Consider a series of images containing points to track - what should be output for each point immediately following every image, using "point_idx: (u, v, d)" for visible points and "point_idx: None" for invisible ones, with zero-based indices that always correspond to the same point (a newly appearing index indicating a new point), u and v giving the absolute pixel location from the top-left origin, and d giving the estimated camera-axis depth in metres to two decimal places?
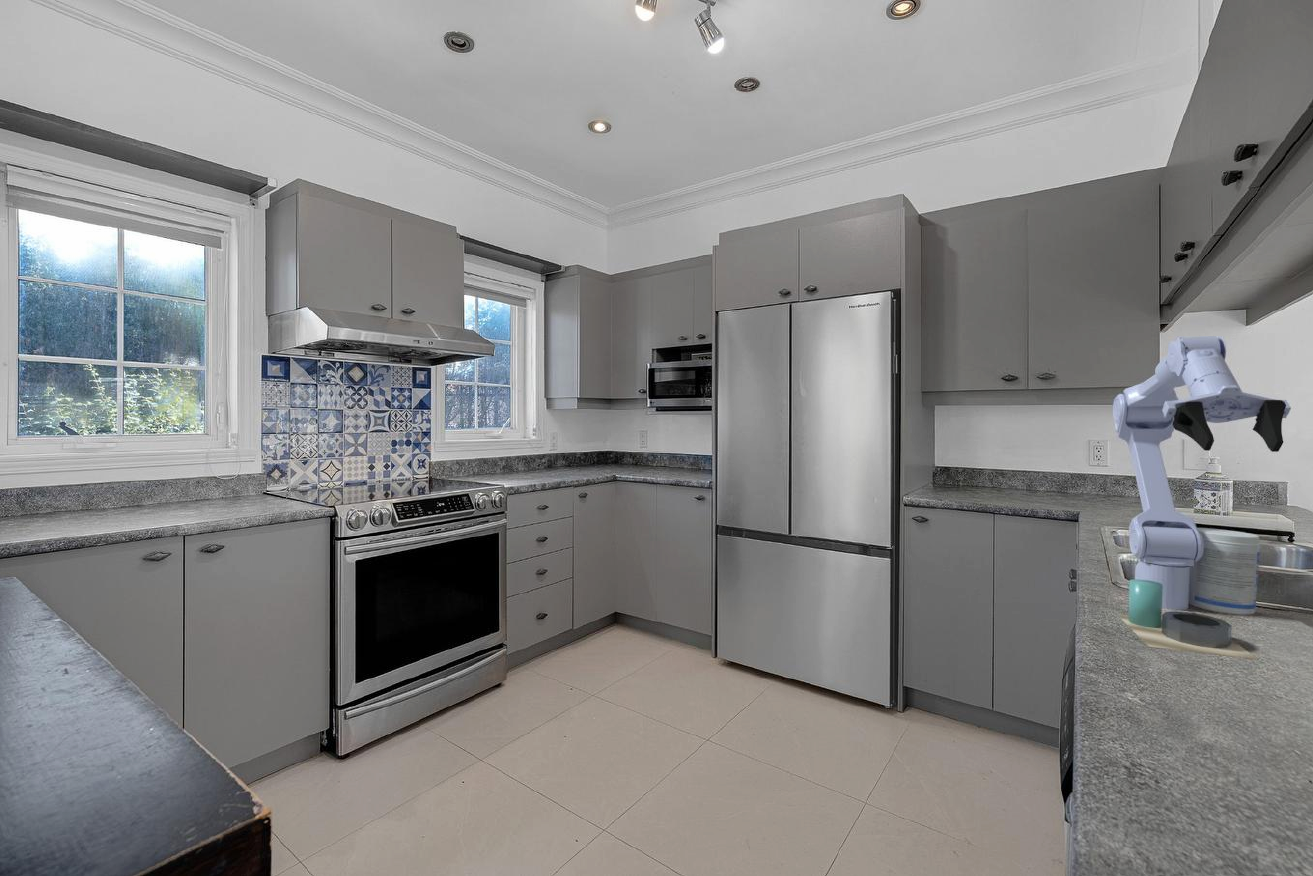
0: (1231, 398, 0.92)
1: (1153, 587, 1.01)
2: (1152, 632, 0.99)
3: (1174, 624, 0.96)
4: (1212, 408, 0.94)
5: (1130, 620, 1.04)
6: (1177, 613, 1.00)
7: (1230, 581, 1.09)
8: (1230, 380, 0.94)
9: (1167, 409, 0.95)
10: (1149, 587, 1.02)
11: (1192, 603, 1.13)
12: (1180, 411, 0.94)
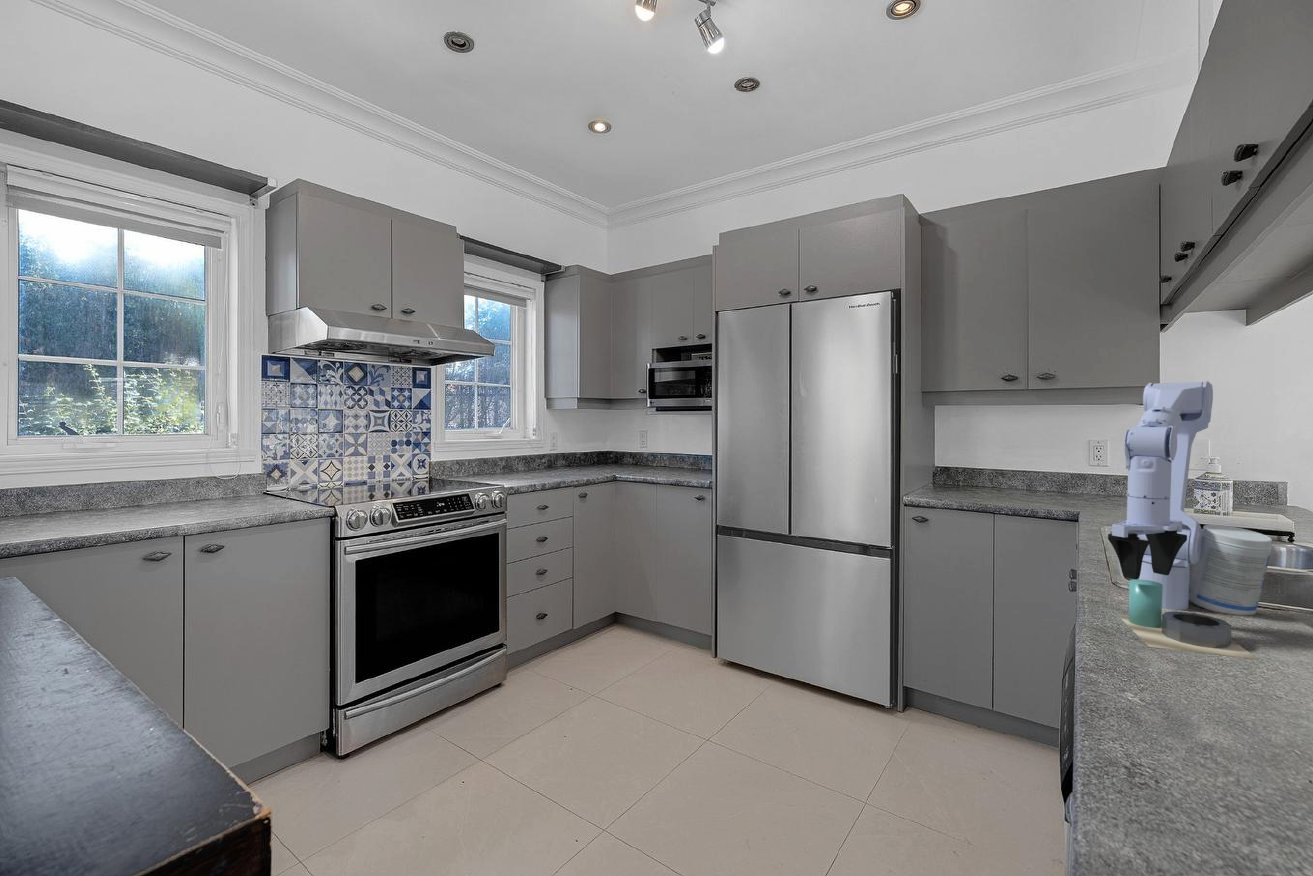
0: None
1: (1153, 587, 1.02)
2: (1152, 632, 0.99)
3: (1174, 624, 0.96)
4: None
5: (1130, 620, 1.04)
6: (1177, 613, 1.00)
7: (1235, 584, 1.08)
8: (1169, 507, 1.01)
9: (1121, 535, 1.00)
10: (1149, 587, 1.02)
11: (1193, 600, 1.13)
12: (1130, 542, 1.00)
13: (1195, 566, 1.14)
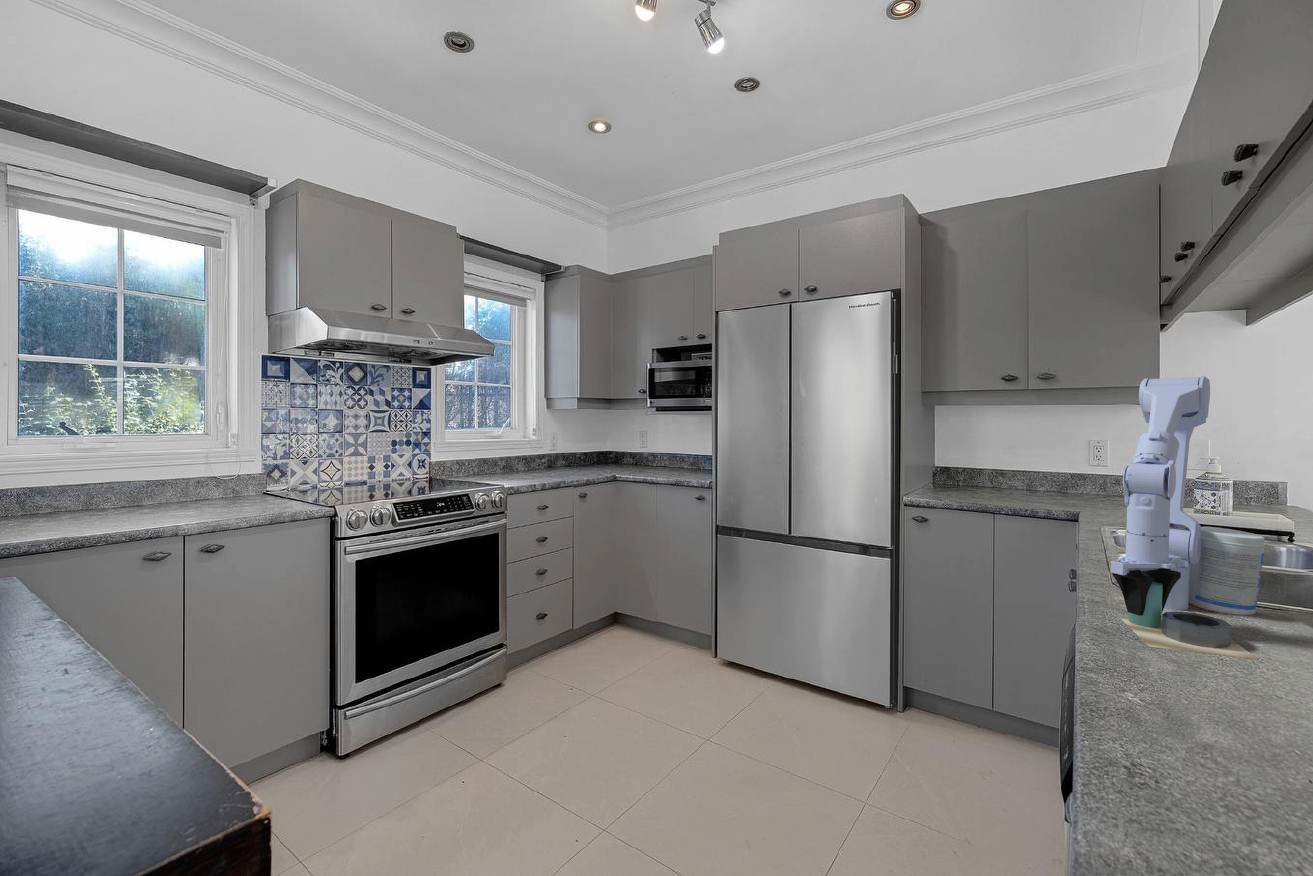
0: None
1: (1153, 587, 1.01)
2: (1152, 632, 0.99)
3: (1174, 624, 0.96)
4: None
5: (1130, 620, 1.04)
6: (1177, 613, 1.00)
7: (1232, 582, 1.08)
8: (1168, 545, 1.01)
9: (1120, 573, 1.01)
10: None
11: (1193, 602, 1.13)
12: (1134, 579, 1.01)
13: (1191, 567, 1.14)
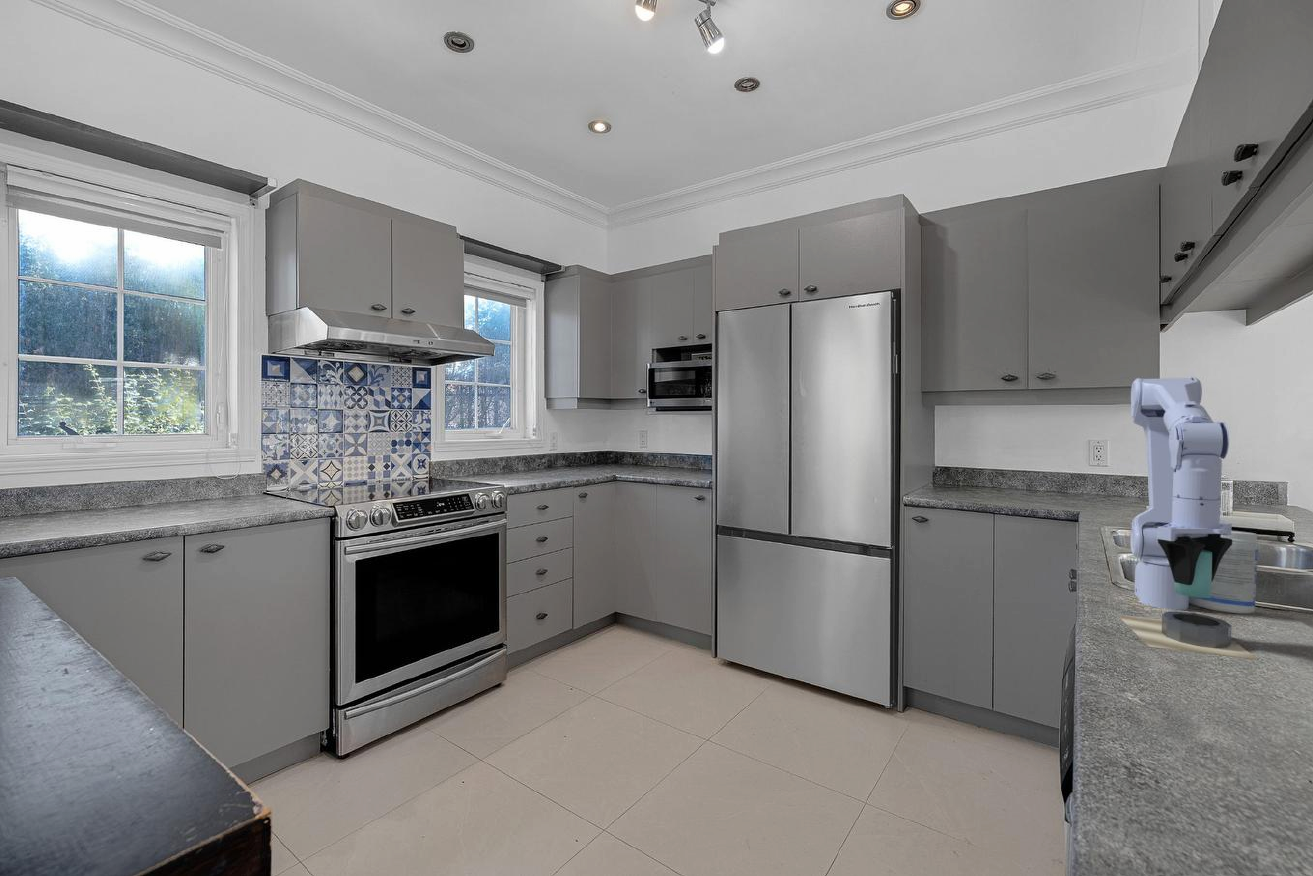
0: None
1: (1202, 554, 0.95)
2: (1152, 632, 0.99)
3: (1174, 624, 0.96)
4: None
5: (1177, 591, 0.97)
6: (1177, 613, 1.00)
7: (1229, 578, 1.09)
8: (1219, 509, 0.94)
9: (1168, 539, 0.94)
10: None
11: (1192, 601, 1.14)
12: (1183, 545, 0.94)
13: None
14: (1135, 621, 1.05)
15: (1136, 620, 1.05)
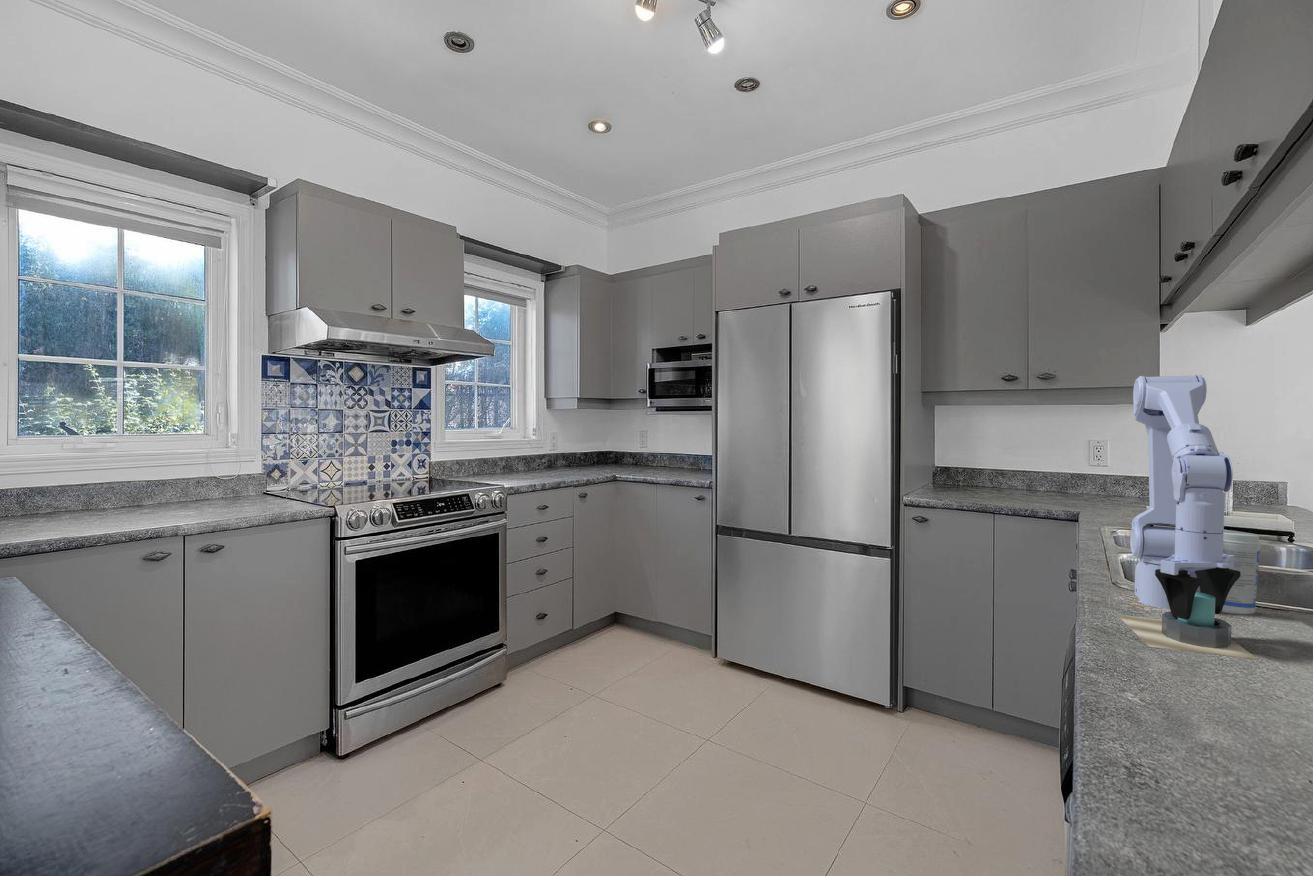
0: None
1: (1206, 600, 0.94)
2: (1152, 632, 0.99)
3: (1174, 624, 0.96)
4: None
5: None
6: None
7: None
8: (1222, 542, 0.94)
9: (1171, 573, 0.94)
10: (1201, 600, 0.95)
11: None
12: (1180, 580, 0.93)
13: None
14: (1135, 621, 1.05)
15: (1136, 620, 1.05)
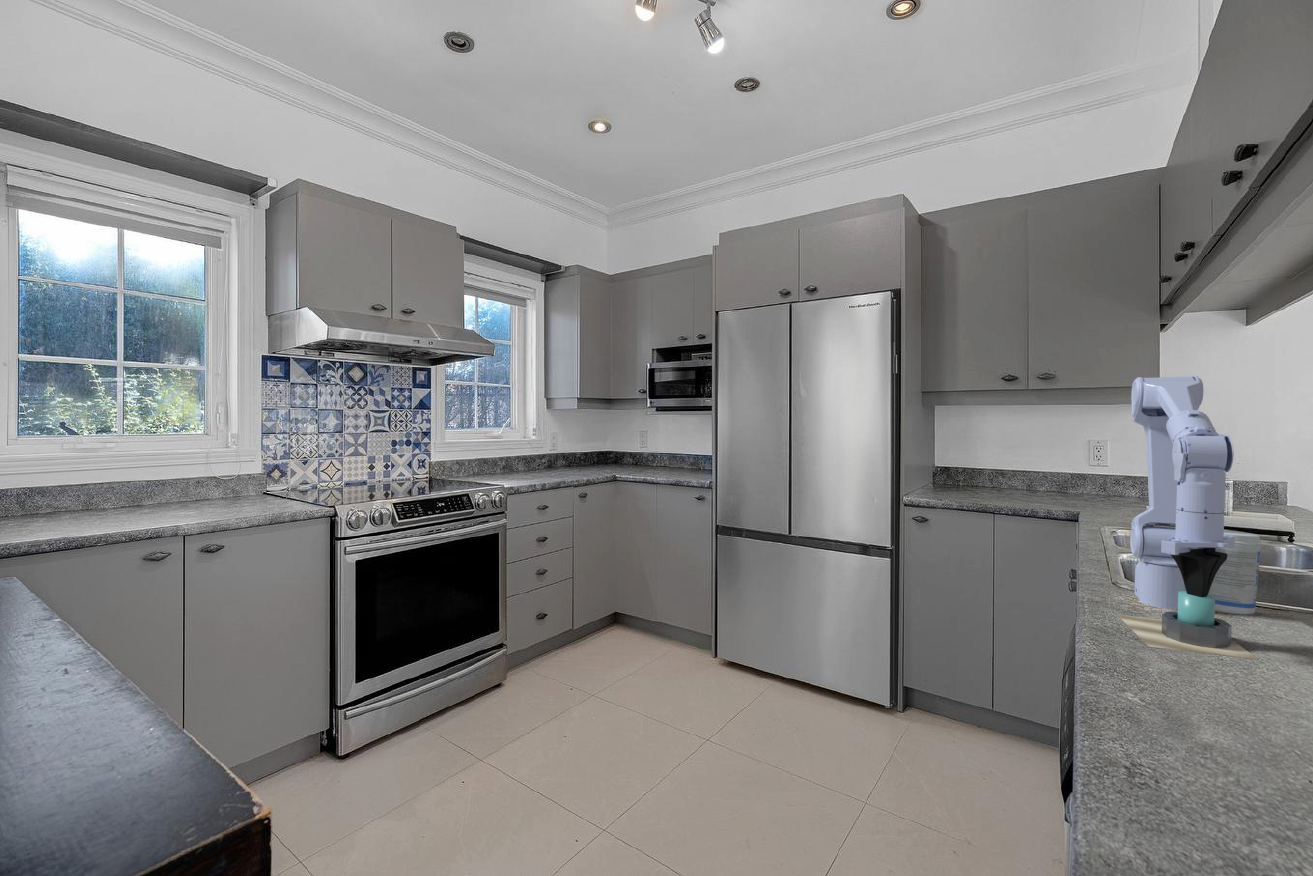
0: None
1: (1205, 600, 0.95)
2: (1152, 632, 0.99)
3: (1174, 624, 0.96)
4: None
5: None
6: (1177, 613, 1.00)
7: (1230, 580, 1.09)
8: (1223, 523, 0.94)
9: (1172, 552, 0.93)
10: (1201, 600, 0.95)
11: None
12: (1196, 558, 0.94)
13: None
14: (1135, 621, 1.05)
15: (1136, 620, 1.05)
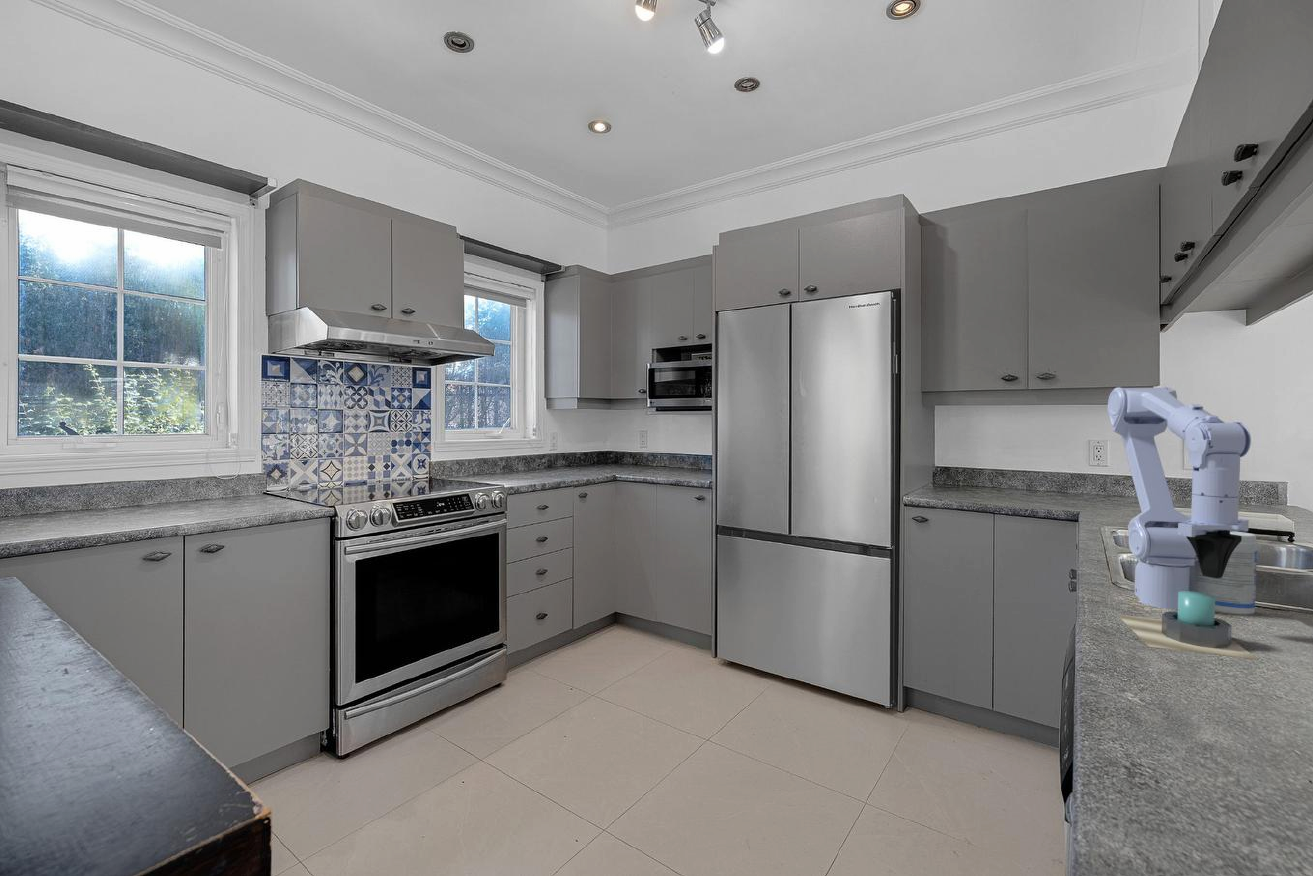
0: None
1: (1205, 600, 0.94)
2: (1152, 632, 0.99)
3: (1174, 624, 0.96)
4: None
5: None
6: (1177, 613, 1.00)
7: (1228, 580, 1.09)
8: (1238, 505, 0.98)
9: (1188, 535, 0.97)
10: (1201, 600, 0.95)
11: None
12: (1211, 540, 0.98)
13: None
14: (1135, 621, 1.05)
15: (1136, 620, 1.05)
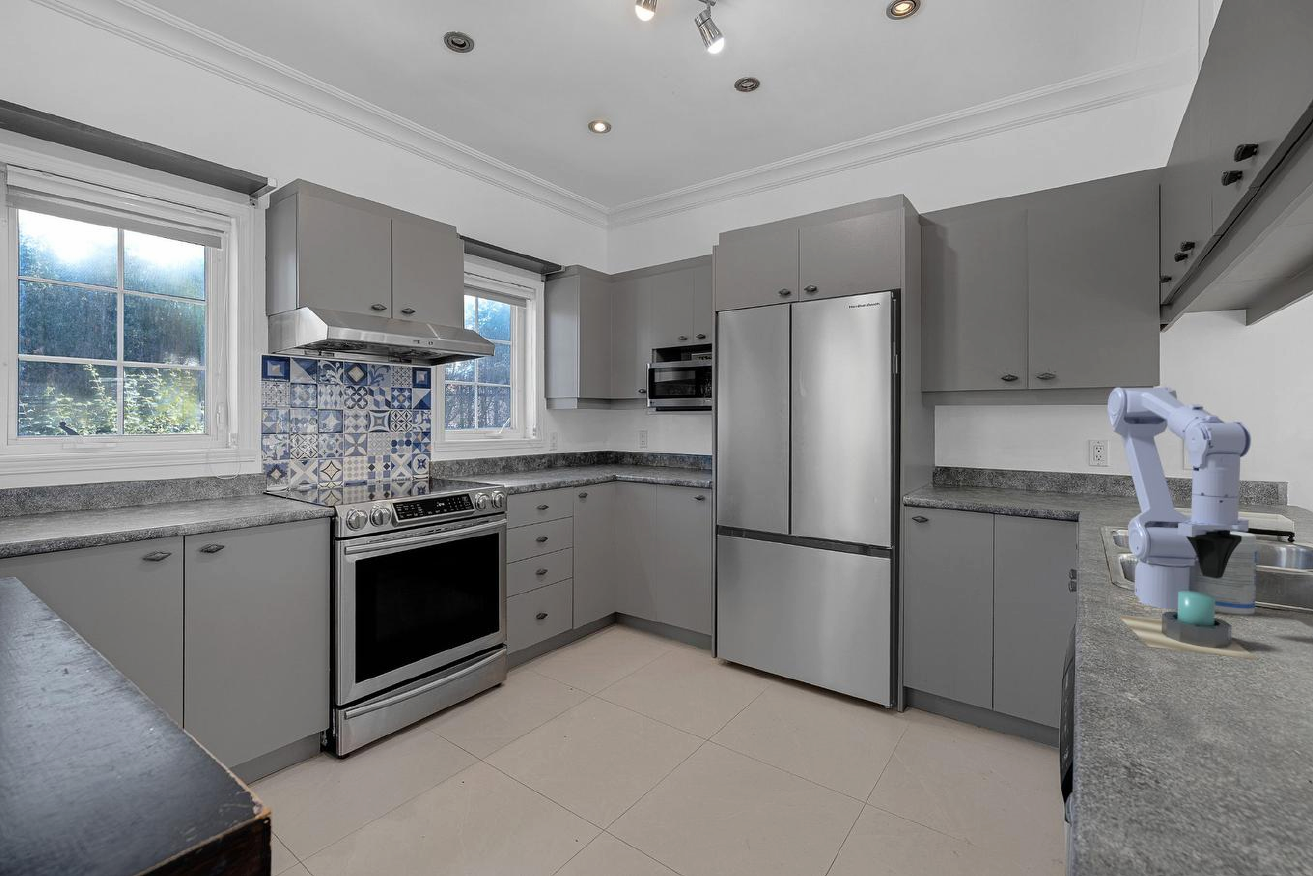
0: None
1: (1205, 600, 0.95)
2: (1152, 632, 0.99)
3: (1174, 624, 0.96)
4: None
5: None
6: (1177, 613, 1.00)
7: (1228, 581, 1.09)
8: (1238, 506, 0.98)
9: (1189, 535, 0.97)
10: (1201, 600, 0.95)
11: None
12: (1211, 540, 0.98)
13: None
14: (1135, 621, 1.05)
15: (1136, 620, 1.05)
